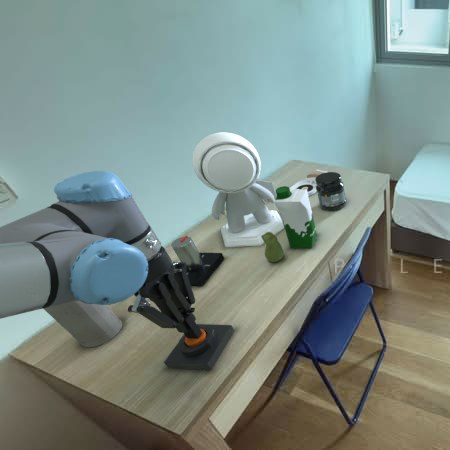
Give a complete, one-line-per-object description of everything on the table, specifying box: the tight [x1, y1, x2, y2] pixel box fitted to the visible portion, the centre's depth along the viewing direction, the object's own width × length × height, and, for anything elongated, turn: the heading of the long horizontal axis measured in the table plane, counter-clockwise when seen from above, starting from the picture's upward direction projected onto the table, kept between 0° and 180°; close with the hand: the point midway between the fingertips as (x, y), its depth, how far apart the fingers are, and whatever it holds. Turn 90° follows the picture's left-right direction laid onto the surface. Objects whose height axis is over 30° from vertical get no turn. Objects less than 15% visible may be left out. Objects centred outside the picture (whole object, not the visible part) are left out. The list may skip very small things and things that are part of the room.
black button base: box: [163, 323, 235, 371], centre depth 70 cm, size 10×10×4 cm
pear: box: [261, 232, 284, 263], centre depth 93 cm, size 6×5×10 cm
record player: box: [289, 169, 327, 197], centre depth 135 cm, size 12×3×20 cm
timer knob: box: [170, 235, 204, 271], centre depth 89 cm, size 5×5×9 cm
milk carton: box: [273, 185, 318, 249], centre depth 97 cm, size 9×9×20 cm
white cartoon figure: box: [191, 131, 285, 248], centre depth 100 cm, size 20×23×35 cm
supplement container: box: [315, 171, 347, 211], centre depth 119 cm, size 10×10×12 cm
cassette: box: [255, 178, 277, 200], centre depth 127 cm, size 12×2×8 cm, turn 67°
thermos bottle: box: [42, 301, 123, 348], centre depth 68 cm, size 8×8×28 cm
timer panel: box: [186, 251, 225, 288], centre depth 92 cm, size 12×10×3 cm
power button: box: [185, 329, 207, 347], centre depth 69 cm, size 4×4×2 cm
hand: (194, 335), depth 69 cm, fingers closed
